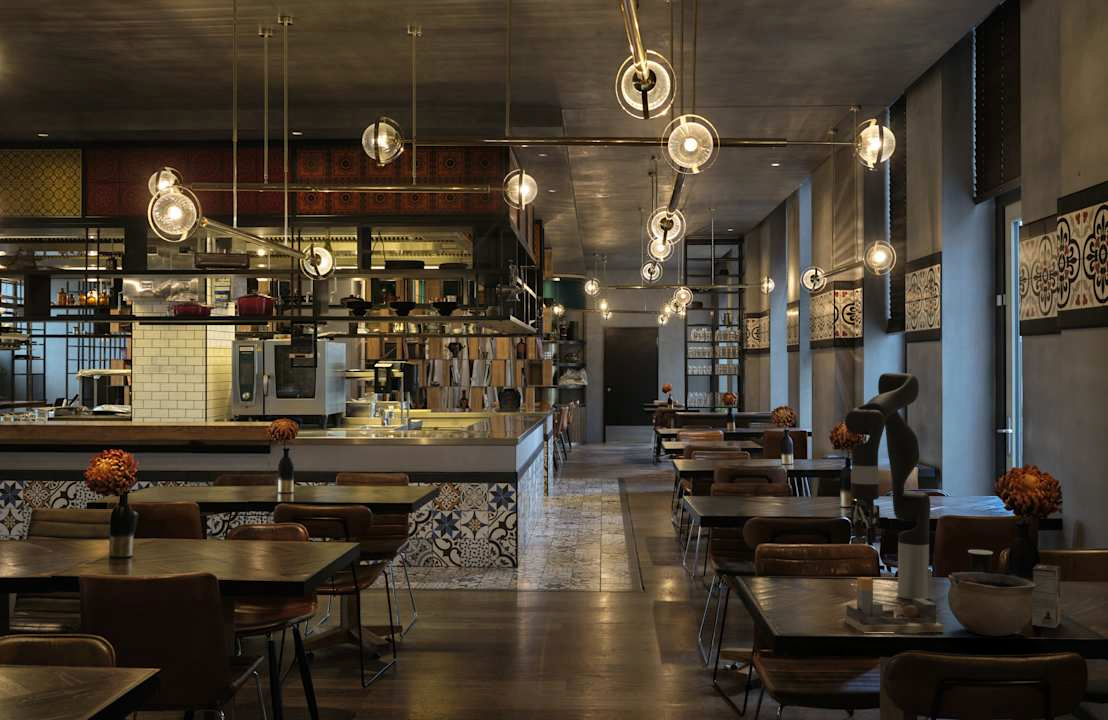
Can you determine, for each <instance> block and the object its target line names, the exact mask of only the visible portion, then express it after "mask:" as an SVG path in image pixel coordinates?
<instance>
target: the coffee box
mask: <svg viewBox="0 0 1108 720" xmlns="http://www.w3.org/2000/svg"><path fill="white" fill-rule="evenodd" d="M1031 570H1032V571H1031V572H1032V573H1031V575H1032V579H1031V582H1032V583H1034V584H1035V585H1036V586H1035V588H1034V590H1033V592H1032V595H1033V598H1034V613H1033V615H1032V617H1031V619H1032V621H1031V622H1032V626H1034V625H1036V627H1042V626H1043V628H1051V629H1056V628H1058V626H1059V624H1060V623H1061V566H1060V565H1050V564H1039V563H1038V564H1036V565H1035V566H1034V567H1032V569H1031Z"/></svg>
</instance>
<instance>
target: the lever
mask: <svg viewBox="0 0 1108 720" xmlns="http://www.w3.org/2000/svg"><path fill="white" fill-rule="evenodd" d="M856 578H857V579H856V580H857V581H856V584H857V585H856V609H858V610H859V611H861V612H863V613H865V614H866V618H884V617H883V610H884V604H883V603H881V602H879V601H875V600H874V579H873V578H871V577H870V576H866V577H865V576H863V577H862V576H861V577H860V576H859V577H856Z"/></svg>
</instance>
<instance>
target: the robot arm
mask: <svg viewBox="0 0 1108 720" xmlns="http://www.w3.org/2000/svg"><path fill="white" fill-rule="evenodd" d="M877 384H878V385H877V390H878V394H877V395H875V396H873V397H872V398H871V399H869V401H867V402H866V403H865V404H861V405H859V406H856V407H853V408H851V409H850V411H848V413H847V414H846V416H845V419H844V427H845V428H846V430H847V431H848V433H850V434H852V435H856V436H857V435H858V436H869V437H868V439H867V441H865V442H861V443H856V444H854V445H852V446H851V447H852V448H851V470H850V497H851V500H850V521H852V522H853V524H854V538H858V539H861V538H863V537H864V523H865V526H866V542H867V543H871V544H873V543H876V539H877V538H876V537H877V536H876V535H877V534H876V530H877V528H880V526H881V520H880V518H881V517H880V516H881V515H880V505H878V504H877V505H876V504H875V502H874V501H875V500H879V498H880V470H879V450H880V444H881V439H882V436H883V433H884V430H885V437H886V448H887V455H888V461H889V468H890V475H891V488H892V508H893V513H894V516H895V518H896V520H899V521H905V522H907V521H908V522H916V523H917V525H916V526H915V527H913V528H912V529H910V530H909V529H908V530H904V531H902V532H899V533H898V537H897V539H898V541H897V544H898V545H897V551H898V552H897V554H898V556H897V558H898V559H897V597H899V598H901V599H903V600H912V601H913V599H921V598H923V599H926V600H931V599H932V567H930V518H931V499H930V495H929V494H928V493H926V492H919V491H917V492H916V491H906V490H905V484H906V481H907V480H908V478H909V476H910V475H911V473H912V472H913V471H914V469H915V468H916V466H917V464H918V463H919V460H920V447H919V440H918V437H917V434H916V433H915V432H914V430H913V429H912V427H910V425H909V424H908V423H907V422H906V420H905V419H904V418H903V417H902V416H901V414H900V412H899V410H901V409H903V408H905V407H907V406H909V405H911V404H913V403H915V401H916V400H917V398H918V395H919V391H920V387H919V386H920V385H919V380H918V377H916V376H915V375H914V374H912V373H911V374H910V373H903V372H899V373H898V372H886V373H882V374H881V375H879V378H878V382H877Z"/></svg>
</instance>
